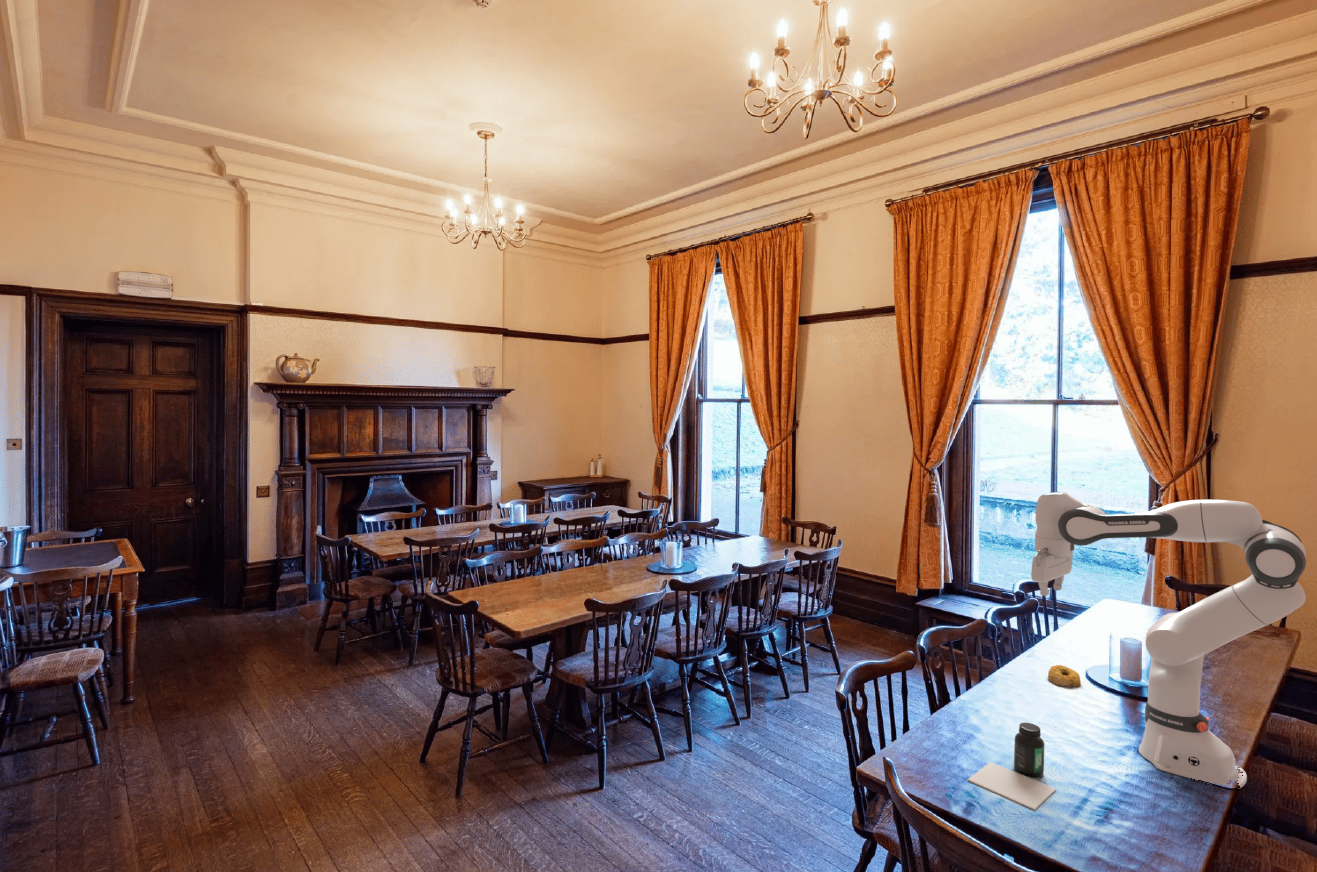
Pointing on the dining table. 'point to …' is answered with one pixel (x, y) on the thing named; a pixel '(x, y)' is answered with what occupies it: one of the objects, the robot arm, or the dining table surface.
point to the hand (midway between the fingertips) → (1051, 592)
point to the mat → (1012, 785)
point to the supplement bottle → (1029, 751)
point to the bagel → (1064, 676)
